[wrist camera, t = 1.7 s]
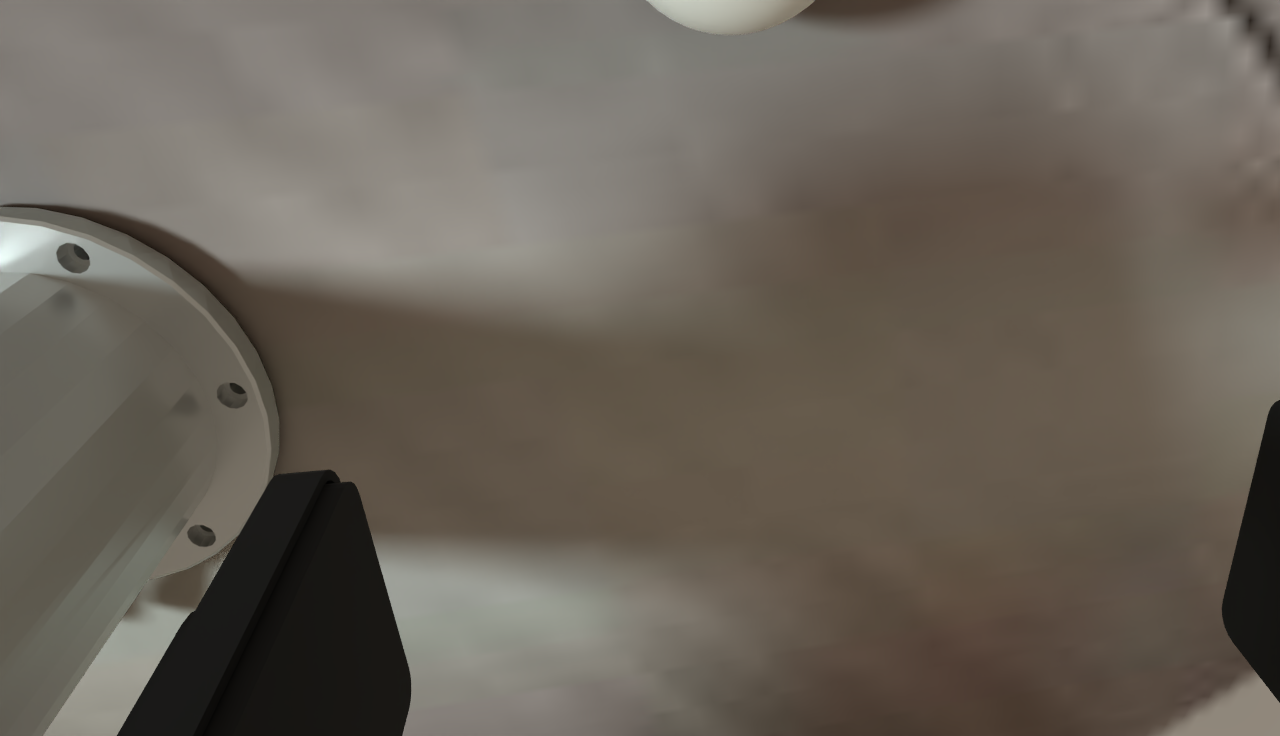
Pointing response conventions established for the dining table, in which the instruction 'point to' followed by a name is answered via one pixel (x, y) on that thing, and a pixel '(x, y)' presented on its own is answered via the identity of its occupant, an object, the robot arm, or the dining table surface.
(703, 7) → the ivory ball
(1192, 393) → the dining table surface
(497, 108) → the dining table surface
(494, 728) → the dining table surface
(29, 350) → the robot arm
